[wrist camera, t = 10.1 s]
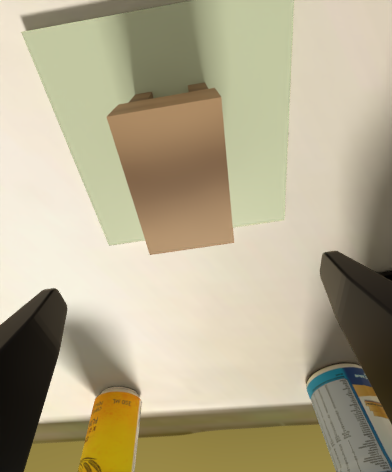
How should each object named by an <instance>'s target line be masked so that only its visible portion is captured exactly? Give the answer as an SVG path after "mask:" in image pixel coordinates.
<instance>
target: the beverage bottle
mask: <svg viewBox="0 0 392 472" xmlns="http://www.w3.org/2000/svg"><path fill="white" fill-rule="evenodd" d="M306 387H307V392H308V394H309V397H310V399H311V401H312V404H313V407H314V410H315V413H316V415H317V418H318V421H319V424H320V427H321V430H322V433H323V435H324V438H325V441H326V444H327V447H328V450H329V452H330V455H331V458H332V461H333V464H334V467H335V469H336V472H392V424H391V423H390V421H389V419H388V417H387V415H386V413H385V411H384V409H383V407H382V405H381V403H380V401H379V400H378V398H377V396H376V394H375V392H374V390H373V388H372V386H371V384H370V382H369V380H368V378H367V376H366V375H365V373H364V371H363V369H362V367H361V366H359V365H356V364H348V363H346V364H336V365H332V366H328V367H325V368H323V369H321V370H319V371H317V372H316V373H314V374H313V375H312V376H311V377H310V378H309V380H308V382H307V385H306Z"/></svg>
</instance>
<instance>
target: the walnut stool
mask: <svg viewBox="0 0 392 472" xmlns="http://www.w3.org/2000/svg"><path fill="white" fill-rule="evenodd" d="M188 91H189V92H187V93H182V94H176V95H170V96H164V97H158V98H153V94H152V92H146V93H141V94H135V95H134V96H133V98H132V99H131V100H130V101H129V103H124V104H118V105H117V106H116V107H115V108H114V109H113V110H112V111H111V112H110V114H109V115H108V116H107V121H108V124H109V127H110V130H111V133H112V136H113V139H114V143H115V146H116V149H117V152H118V155H119V158H120V162H121V165H122V168H123V171H124V174H125V177H126V181H127V184H128V187H129V190H130V193H131V196H132V200H133V203H134V206H135V209H136V212H137V215H138V219H139V222H140V225H141V228H142V231H143V234H144V238H145V241H146V244H147V247H148V250H149V253H150V255H153V254H159V253H166V252H173V251H180V250H187V249H194V248H201V247H208V246H214V245H221V244H228V243H234V236H233V225H232V213H231V202H230V190H229V179H228V168H227V156H226V145H225V133H224V122H223V111H222V99H221V96H220V94H219V93H218V92H217V90H216V89H215V88H210V89H208V87H207V85H206V83H205V82H204V83H198V84H192V85H188Z"/></svg>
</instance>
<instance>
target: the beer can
mask: <svg viewBox="0 0 392 472" xmlns="http://www.w3.org/2000/svg"><path fill="white" fill-rule="evenodd" d="M141 405H142V402H141V400H140V398H139V397H138V394H137V393H136V392H135V391H134V390H132V389H129V388H126V387H111V388H107V389H105V390H103V391H102V392H101V394H100V395H99V396H97V397H96V399H95V401H94V406H93V410H92V414H91V418H90V422H89V427H88V431H87V435H86V439H85V443H84V448H83V452H82V456H81V460H80V465H79V468H78V472H134V469H135V460H136V450H137V441H138V432H139V423H140V414H141Z"/></svg>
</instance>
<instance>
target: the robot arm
mask: <svg viewBox="0 0 392 472" xmlns="http://www.w3.org/2000/svg"><path fill="white" fill-rule="evenodd" d="M320 276H321V279H322V282H323V285H324V287H325V290H326V293H327V295H328V298H329V301H330V303H331V306H332V308H333V311H334V314H335V316H336V318H337V320H338V323H339V325H340V327H341V328H342V330H343V332H344V334H345V336H346V338H347V340H348V342H349V344H350V346H351V348H352V350H353V351H354V353H355V355H356V357H357V359H358V361H359V363H360V365H361V367H362V369H363V371H364V373H365V375H366V376H367V378H368V380H369V382H370V384H371V386H372V388H373V390H374V392H375V394H376V396H377V398H378V400H379V401H380V403H381V405H382V407H383V409H384V411H385V413H386V415H387V417H388V419H389V421H390V423H391V424H392V271H391V272H383V273H376V272H374V271H373V270H371V269H369V268H367V267H365V266H364V265H362V264H360V263H358V262H356V261H355V260H353V259H351V258H349V257H347V256H345V255H344V254H342V253H340V252H338V251H329V252H325V253H323V255H322V260H321V267H320ZM66 314H67V305H66V302H65V301H64V299H63V298H62V296H61V294H60V293H59V291H58V290H57V289H55V288H52V289H45V290H42V291H41V292H40V293H39V294H37V295H36V296H35V297H34V298H33V299H31V300H30V301H29V302H28V303H27V304H25V305H24V306H23V307H22V308H20V309H19V310H18V311H17V312H16V313H14V314H13V315H12V316H11V317H9V318H8V319H7V320H6V321H5V322H3V323H2V324H1V325H0V472H24V469H25V466H26V462H27V459H28V456H29V452H30V449H31V446H32V442H33V439H34V436H35V432H36V429H37V426H38V422H39V419H40V416H41V412H42V409H43V406H44V402H45V399H46V396H47V392H48V389H49V386H50V382H51V379H52V375H53V372H54V369H55V365H56V362H57V359H58V355H59V351H60V347H61V341H62V336H63V331H64V325H65V320H66Z"/></svg>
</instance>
